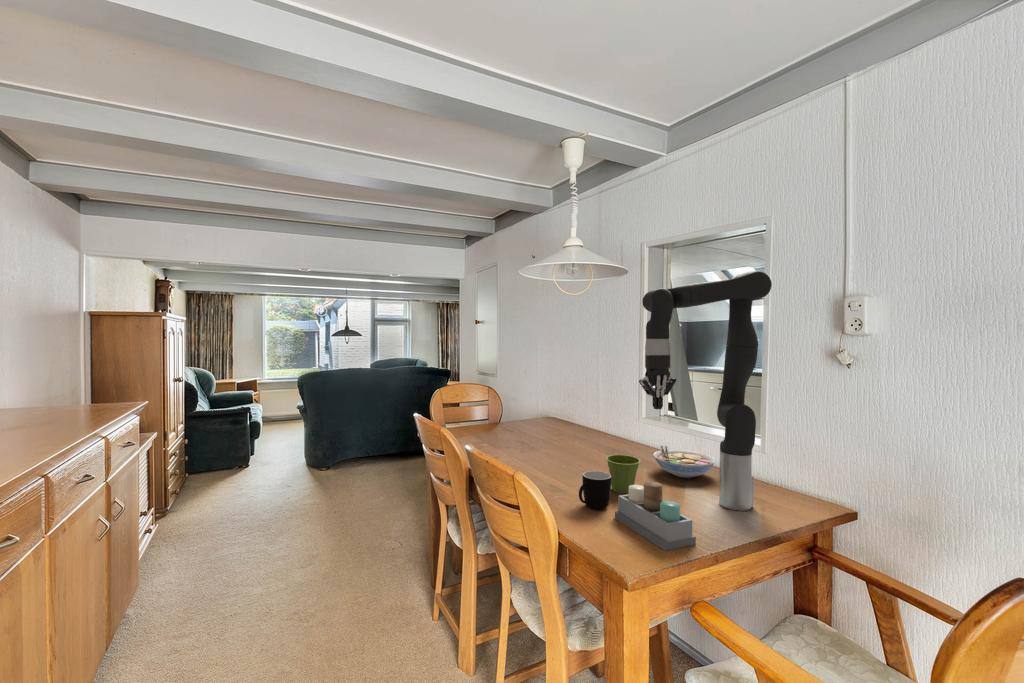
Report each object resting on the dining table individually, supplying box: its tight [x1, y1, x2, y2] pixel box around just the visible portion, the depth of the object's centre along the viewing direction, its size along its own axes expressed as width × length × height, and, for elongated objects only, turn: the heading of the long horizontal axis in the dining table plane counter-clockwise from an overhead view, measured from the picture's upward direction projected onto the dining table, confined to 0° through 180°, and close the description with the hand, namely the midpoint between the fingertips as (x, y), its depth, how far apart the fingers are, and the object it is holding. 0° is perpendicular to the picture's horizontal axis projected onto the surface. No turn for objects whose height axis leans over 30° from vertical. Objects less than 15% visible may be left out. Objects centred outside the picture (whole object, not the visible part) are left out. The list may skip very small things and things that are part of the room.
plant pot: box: [605, 454, 641, 495], centre depth 158 cm, size 12×12×11 cm
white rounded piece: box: [629, 484, 644, 504], centre depth 133 cm, size 5×5×6 cm
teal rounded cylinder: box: [660, 500, 681, 523], centre depth 119 cm, size 5×5×6 cm
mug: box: [578, 470, 612, 511], centre depth 142 cm, size 12×9×10 cm
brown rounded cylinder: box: [643, 481, 664, 512], centre depth 126 cm, size 5×5×6 cm
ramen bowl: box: [653, 445, 716, 479], centre depth 176 cm, size 25×23×8 cm
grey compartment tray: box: [614, 493, 697, 552], centre depth 126 cm, size 10×22×6 cm, turn 21°
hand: (657, 408), depth 141 cm, fingers closed
